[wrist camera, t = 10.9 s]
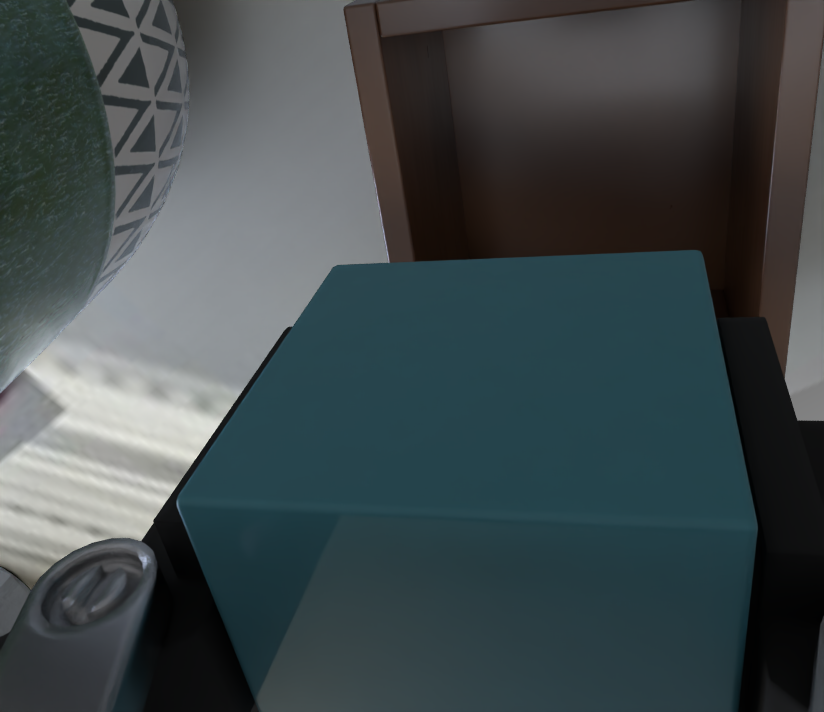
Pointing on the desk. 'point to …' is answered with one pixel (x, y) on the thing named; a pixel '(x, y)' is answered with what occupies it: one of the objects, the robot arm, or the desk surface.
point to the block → (487, 494)
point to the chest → (596, 133)
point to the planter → (80, 154)
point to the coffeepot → (10, 600)
